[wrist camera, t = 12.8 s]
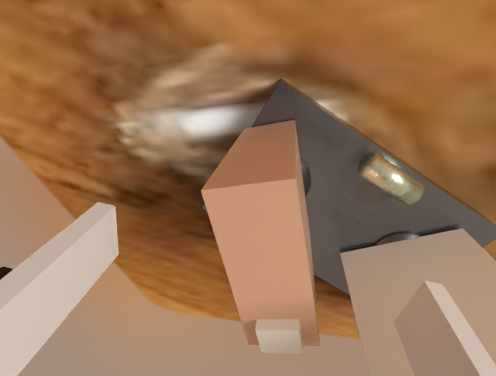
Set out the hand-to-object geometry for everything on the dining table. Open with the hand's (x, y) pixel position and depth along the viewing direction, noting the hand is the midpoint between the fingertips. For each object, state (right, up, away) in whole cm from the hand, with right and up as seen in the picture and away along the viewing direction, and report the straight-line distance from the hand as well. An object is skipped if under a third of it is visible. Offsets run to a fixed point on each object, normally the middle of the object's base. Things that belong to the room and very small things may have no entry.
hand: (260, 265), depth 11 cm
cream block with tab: (+12, -2, +11) cm, 16 cm away
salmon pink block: (+2, +4, +9) cm, 10 cm away
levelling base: (+7, +2, +12) cm, 14 cm away
